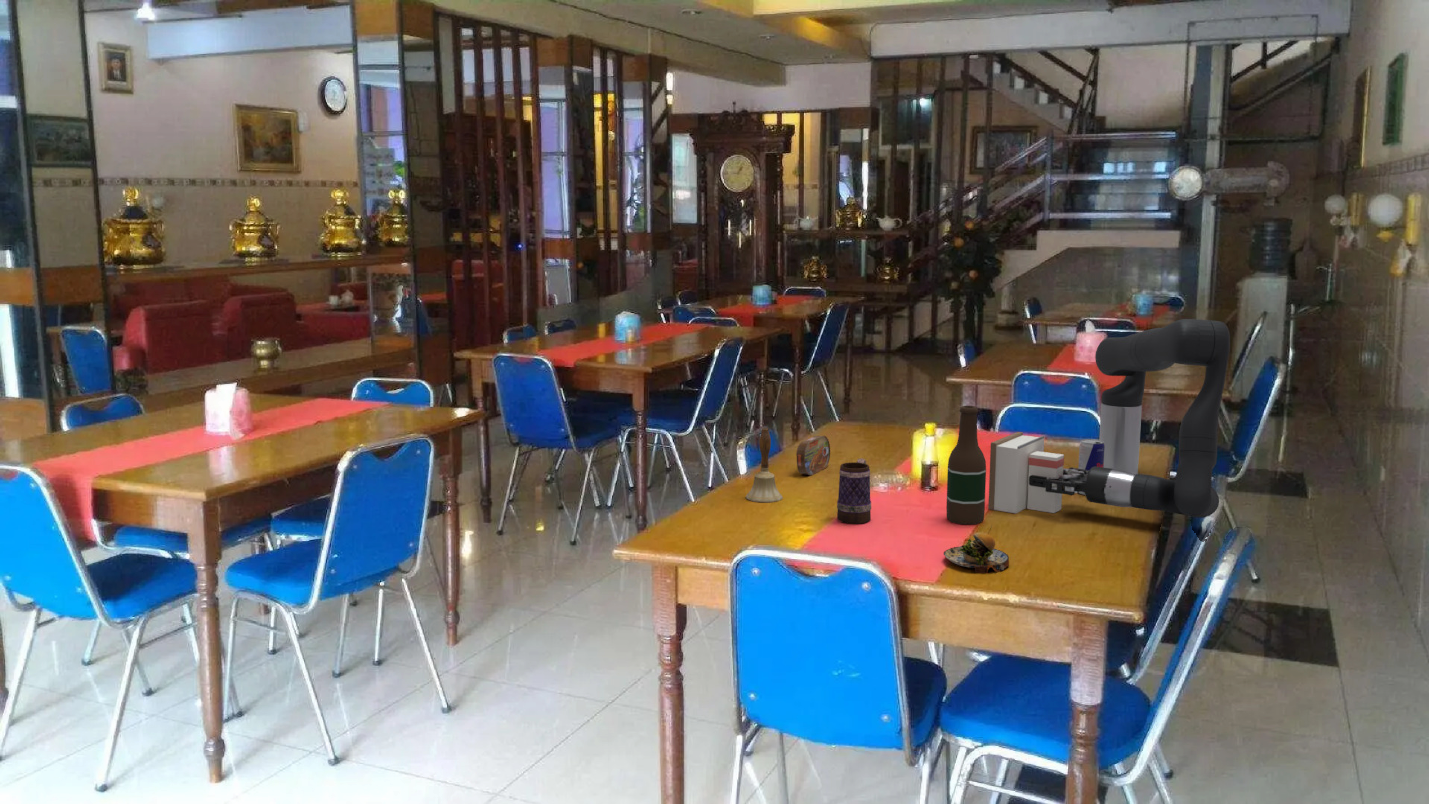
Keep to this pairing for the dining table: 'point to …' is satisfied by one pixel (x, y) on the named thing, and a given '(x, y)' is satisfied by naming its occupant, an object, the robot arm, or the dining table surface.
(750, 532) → the dining table surface
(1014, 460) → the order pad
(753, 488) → the hand bell
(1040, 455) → the white juice carton
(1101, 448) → the energy drink
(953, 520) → the beer bottle
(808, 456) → the tin
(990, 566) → the burger
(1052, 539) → the dining table surface
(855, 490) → the mug
